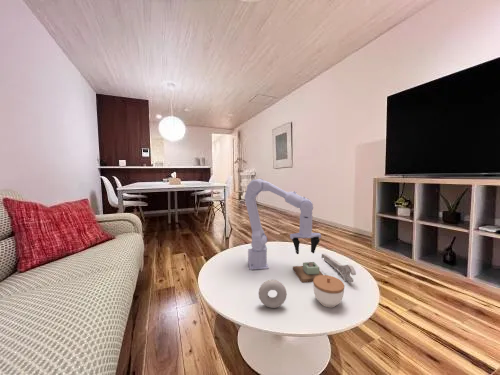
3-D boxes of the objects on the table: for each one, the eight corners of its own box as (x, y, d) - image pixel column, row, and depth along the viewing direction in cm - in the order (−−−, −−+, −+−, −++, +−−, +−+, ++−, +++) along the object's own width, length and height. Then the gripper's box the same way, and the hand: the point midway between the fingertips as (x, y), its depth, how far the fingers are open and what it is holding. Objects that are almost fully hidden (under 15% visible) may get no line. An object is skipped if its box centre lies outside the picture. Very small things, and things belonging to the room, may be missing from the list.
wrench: (324, 263, 117) (356, 287, 87) (321, 263, 117) (352, 287, 87) (324, 248, 117) (356, 267, 87) (321, 248, 117) (351, 267, 87)
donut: (285, 304, 77) (286, 278, 76) (287, 310, 74) (287, 283, 73) (258, 303, 77) (258, 277, 76) (258, 309, 74) (258, 282, 73)
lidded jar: (307, 302, 78) (308, 278, 77) (320, 290, 86) (320, 268, 85) (336, 316, 71) (338, 289, 70) (347, 301, 79) (348, 277, 78)
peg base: (301, 282, 91) (302, 270, 91) (292, 269, 103) (293, 258, 103) (325, 280, 93) (326, 268, 92) (314, 268, 105) (314, 257, 104)
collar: (307, 274, 95) (307, 268, 95) (302, 268, 100) (302, 262, 100) (319, 273, 96) (319, 267, 95) (313, 267, 101) (314, 261, 101)
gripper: (293, 227, 94) (292, 257, 95) (324, 226, 96) (323, 255, 97) (288, 223, 101) (288, 251, 102) (317, 222, 103) (316, 249, 104)
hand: (304, 252), depth 100 cm, fingers open, 7 cm apart
